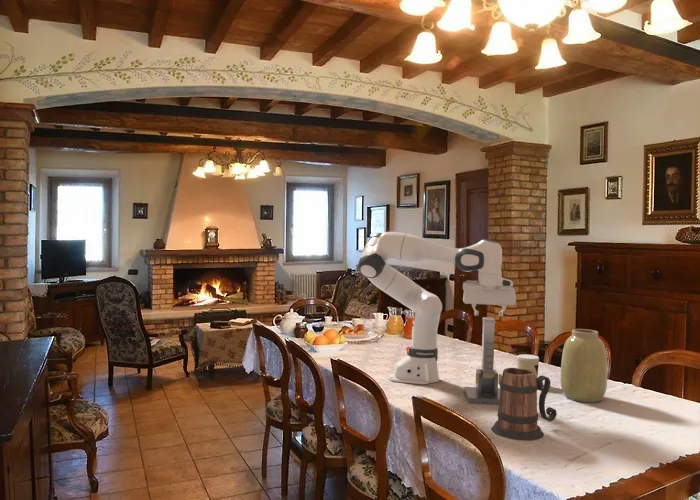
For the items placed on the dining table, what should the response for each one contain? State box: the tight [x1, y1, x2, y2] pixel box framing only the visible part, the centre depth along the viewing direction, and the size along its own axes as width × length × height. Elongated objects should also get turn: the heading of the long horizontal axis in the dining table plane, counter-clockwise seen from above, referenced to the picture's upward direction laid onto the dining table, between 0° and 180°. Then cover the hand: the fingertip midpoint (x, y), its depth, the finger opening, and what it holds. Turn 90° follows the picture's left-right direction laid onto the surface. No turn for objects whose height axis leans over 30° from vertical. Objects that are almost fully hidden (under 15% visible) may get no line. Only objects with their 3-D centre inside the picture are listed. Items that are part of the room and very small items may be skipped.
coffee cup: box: [516, 353, 540, 379], centre depth 246 cm, size 9×9×12 cm
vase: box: [560, 328, 608, 403], centre depth 226 cm, size 17×17×27 cm
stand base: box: [463, 368, 503, 406], centre depth 223 cm, size 16×16×11 cm
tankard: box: [490, 367, 558, 442], centre depth 187 cm, size 24×17×20 cm
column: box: [481, 316, 496, 378], centre depth 223 cm, size 4×6×23 cm, turn 174°
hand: (488, 315), depth 222 cm, fingers open, 8 cm apart
